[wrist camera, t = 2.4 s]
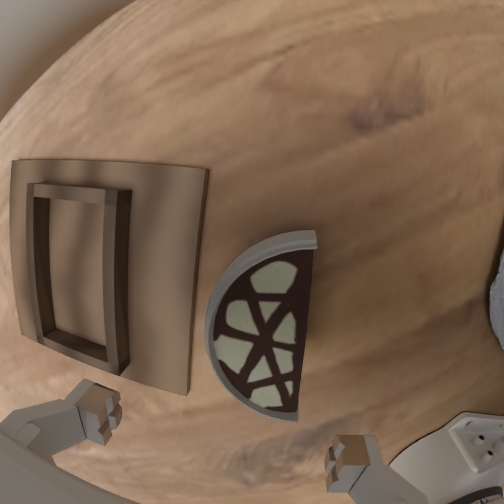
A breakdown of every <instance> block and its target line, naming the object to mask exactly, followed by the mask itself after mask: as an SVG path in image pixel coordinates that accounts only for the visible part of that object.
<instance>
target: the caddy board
mask: <svg viewBox="0 0 504 504" xmlns="http://www.w3.org/2000/svg"><path fill="white" fill-rule="evenodd" d="M208 173H209V169H201V168H192V167H181V166H170V165H158V164H144V163H129V162H110V161H82V160H14V161H12V168H11V182H10V250H11V264H12V275H13V284H14V292H15V299H16V306H17V312H18V318H19V324H20V329H21V334H22V335H24V336H26V337H28V338H30V339H32V340H34V341H36V342H38V343H40V344H42V345H44V346H46V347H48V348H51V349H53V350H55V351H57V352H59V353H62V354H64V355H66V356H69V357H71V358H73V359H76V360H78V361H81V362H83V363H85V364H88V365H91V366H93V367H96V368H98V369H101V370H104V371H106V372H109V373H112V374H115V375H117V376H121V377H123V378H126V379H129V380H132V381H135V382H139V383H142V384H145V385H148V386H151V387H155V388H158V389H161V390H165V391H168V392H172V393H176V394H179V395H183V396H187V395H188V393H189V389H190V368H191V350H192V334H193V319H194V306H195V294H196V282H197V271H198V260H199V250H200V240H201V231H202V222H203V213H204V205H205V197H206V189H207V181H208Z"/></svg>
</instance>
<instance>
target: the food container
mask: <svg viewBox="0 0 504 504" xmlns="http://www.w3.org/2000/svg"><path fill="white" fill-rule="evenodd" d="M313 249H318V247H317V238H316V233H315V230H300V231H293V232H288V233H283V234H279V235H276V236H273V237H270V238H268V239H265V240H263V241H261V242H259V243H257V244H255V245H254V246H252V247H250V248H248V249H247V250H246V251H244V252H243V253H242V254H240V255H239V256H238V257H237V258H235V259H234V260H233V261H232V263H231V264H230V265H229V266H228V267H227V268H226V269H225V270H224V272H223V273H222V275H221V276H220V278H219V279H218V281H217V282H216V284H215V286H214V289H213V291H212V293H211V296H210V298H209V303H208V307H207V312H206V320H205V343H206V350H207V353H208V356H209V359H210V363H211V365H212V368H213V370H214V372H215V374H216V376H217V378H218V379H219V381H220V382H221V384H222V385H223V386H224V388H225V389H226V390H227V391H228V392H229V393H230V394H231V395H232V396H233V397H234V398H235V399H236V400H237V401H239V402H240V403H241V404H243V405H244V406H246V407H247V408H249V409H251V410H253V411H255V412H257V413H259V414H261V415H264V416H267V417H269V418H272V419H277V420H281V421H286V422H296V423H298V397H299V388H300V381H301V373H302V364H303V357H304V349H305V340H306V331H307V330H306V329H307V319H308V309H309V299H310V288H311V275H312V259H313Z"/></svg>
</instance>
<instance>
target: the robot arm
mask: <svg viewBox="0 0 504 504" xmlns="http://www.w3.org/2000/svg"><path fill="white" fill-rule="evenodd" d="M120 399H121V398H120V393H119V392H118V391H115V390H113V389H110V388H108V387H105V386H103V385H100V384H98V383H95V382H92V381H90V380H88V379H84V380H82V381H81V382H80V383H79V384H78V385H77V386H76V387H75V388H74V389H73V390H72V391H71V393H70V394H69V395H68V396H67V397H66V398H65V399H64V400H62V399H58V400H54V401H51V402H47V403H43V404H39V405H35V406H31V407H27V408H22V409H18V410H14V411H13V412H11V413H10V414H9V415H8V416H7V417H6V418H5V419H4V420H3V421H2V422H1V423H0V504H140V503H138V502H135V501H132V500H129V499H127V498H124V497H121V496H119V495H116V494H114V493H112V492H109V491H107V490H104V489H102V488H100V487H98V486H95V485H93V484H91V483H89V482H87V481H85V480H83V479H81V478H79V477H77V476H75V475H73V474H71V473H69V472H67V471H65V470H63V469H61V468H60V467H58V466H56V463H55V461H54V459H53V457H52V455H54V454H56V453H59V452H61V451H63V450H65V449H67V448H70V447H72V446H74V445H76V444H78V443H80V442H82V441H84V440H86V439H88V440H91V441H93V442H96V443H98V444H101V445H103V446H105V445H106V444H107V442H108V441H109V439H110V438H111V436H112V433H111V430H113V429H116V428H117V427H118V425H119V424H120V421H121V418H122V407H121V406H120V404H119V403H118V402H119V401H120ZM325 471H326V472H327V473H328V476H327V478H326V487H327V492H340V493H348V494H349V495H350V496H351V498H352V499H353V500H354V501H355V503H356V504H504V497H503V490H502V487H503V485H504V416H496V415H486V414H478V413H470V412H464V413H461V414H460V415H458V416H457V417H455V418H454V419H453V420H452V421H450V422H449V423H448V424H447V425H446V426H444V427H443V428H441V429H440V430H438V431H436V432H434V433H432V434H430V435H428V436H426V437H424V438H422V439H421V440H419V441H417V442H416V443H414V444H413V445H411V446H410V447H408V448H407V449H406V450H404V451H403V452H402V453H401V454H400V455H398V456H397V457H396V458H395V459H394V460H393V461H392V463H391V464H390V465H389V466H388V465H384V462H383V459H382V455H381V452H380V449H379V445H378V442H377V439H376V436H375V435H336V436H335V437H334V439H333V446H332V447H330V448H329V449H328V451H327V454H326V457H325Z"/></svg>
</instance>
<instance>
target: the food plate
mask: <svg viewBox="0 0 504 504" xmlns="http://www.w3.org/2000/svg"><path fill="white" fill-rule="evenodd" d="M498 271H499V273H498V274H497V276H496V278H495V279H496V281H495V280H494V282H493V283H492V285H491V287H490V306H489V307H490V320H491V324H492V328H493V330H494V333H495V335H496V337H498V339H499V341H500V344H501V346H502V349H503V350H504V248H503V251H502V255H501V256H500V266H499V270H498ZM494 283H495V284H494Z"/></svg>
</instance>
